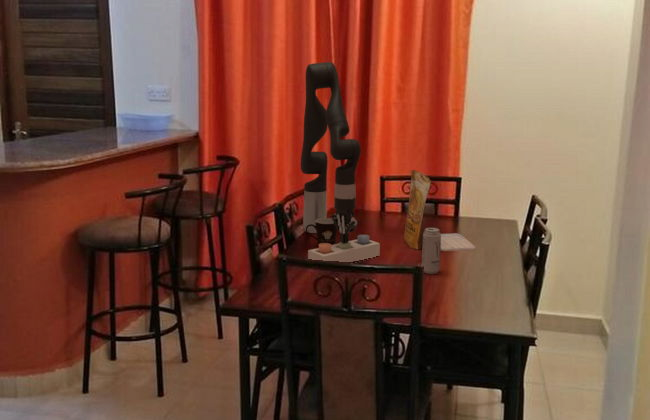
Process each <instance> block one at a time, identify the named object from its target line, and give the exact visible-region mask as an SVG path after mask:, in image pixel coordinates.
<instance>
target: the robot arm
mask: <svg viewBox="0 0 650 420" xmlns="http://www.w3.org/2000/svg"><path fill="white" fill-rule="evenodd" d="M328 88H330V92H331V93H330V99H329V102H328V104H327V107H326V108H325V106H324V105H323V103H321V100H319V98H318V96H317V90H319V89H320V90H321V89H328ZM341 91H342V90H341V85H340V80H339V75H338V70H337V67H336V65H335V64H334V62H331V61H324V62H317V63H315V62H314V63H310V64H308V65H307V66H306V68H305V106H304V107H305V108H304V114H303V115H304V117H303V140H302V141H303V142H302V148H301V155H300V170H301V172H302V174H304V175H317V177H315V178H314V179H312V180H310V181H307V182H305V183H304V187H303V188H304V191H303V192H304V194H303V196H304V198H303V199H304V202H303V203H304V205H303V208H302V214H303V215H302V220H303V222H302V223H303V224H302V229H303V230H304V232H306V227H307V226H308V225H310V224H312V225H315V226H316V222H315V221H316V220H317V219H322V218H327V211H328V209H327V206H328V205H327V202H328V201H327V195H328V194H327V193H328V191H327V190H328V189H327V187H328V186H327V185H328V184H327V183H328V182H327V181H328V177H327V176H328V165H329V164H328V161H329V159H328V154H327V153H326V151H313V149H314V147H315V146H316V145H317V143H319V142H320V140H321V139H322V138H323V137H324V136H325V134H326V133H327V131H328V130H329V138H330V139H329V140H330V142H329V143H330V147H329V149H330V150H329V151H330V155H331V157H332V158H333V159H334V160H335V161H344V160H346V162H345V163H344V164H342V165H339V166H337V167H336V168H335V170H334V171H335V172H334V173H335V175H334V195H333V196H334V203H333V204H334V206H333V207H334V209H335V213H334V214H332V215H331V216H330V217H331V219H332V220H333V222H334V224H335V227H336V229H337V231H339V233H340V242H341V243H343V244H345V243H348V241H350V240H349V236H350V235H349V234H350V233H353V232H354V230H355V229H356V228H357V226H358V225H359V222H360V221H359V220H358V219H356V218H355V213H354V211H355V209H356V206H357V205H356V203H357V202H356V197H357V195H356V194H357V192H356V191H357V188H356V170H357V167H358V162H359V160H360V157H361V154H362V153H361V152H362V151H361V150H362V149H361V148H362V147H361V143H360V142H359V141H358V139H355V138H348V139H346V138H345V139H342V138H344V137H346V136H347V135H349V133H350V125H349V123H348V120H347V119H348V118H347V116H346V113H345V110H344V106H343V98H342V92H341ZM307 231H308V232H309V234H317V231H316V229H315V228H314V227H313V226H309V227H308V228H307Z"/></svg>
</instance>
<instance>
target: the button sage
mask: <svg viewBox="0 0 650 420" xmlns="http://www.w3.org/2000/svg"><path fill="white" fill-rule="evenodd" d="M337 244H338V248H340V249H343V250H345V249H349V248H351V242H348V243H345V244H343V243H341V241H338V243H337Z"/></svg>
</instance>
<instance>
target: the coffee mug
mask: <svg viewBox="0 0 650 420" xmlns="http://www.w3.org/2000/svg"><path fill="white" fill-rule="evenodd" d="M315 222H316V226H315V225H312V224H310V225H308V226H307V227H306V231H305V233H306V234H308V236H310V237H312V238H313V239H315V240H316V241H317V246H319V244H320V243H329V244H331V245H334V244H336V239H337V233H338V232H337V231H338V230H337V229H336V227H335V224H334V222H333V220H332V217H331V218H330V217H328V218H322V219H317V220H316V221H315ZM309 226H313V227H314V228H315V229H316V231H317V233H316V236H314V235H312V233H309V232H308V231H307V228H308V227H309Z"/></svg>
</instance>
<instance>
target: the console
mask: <svg viewBox="0 0 650 420" xmlns="http://www.w3.org/2000/svg"><path fill="white" fill-rule="evenodd" d="M348 242H351V248H349V249H345V250H343V249H340V248H338V243H335V244H334V245H331V253H328V254H321V253H319V247H317V248H313V249H309V250H307V260H308V259H312V260H323V261H339V262H353V261H359V260H363V261H365V260H364V259H367V260H369V259H368V258H371V259H374V258H373V257H375V258H377V257H376V256H379V257H380V249H381V247H380V246H381V245H380V243H379V242H377V241H374V240H371V239H369V244H366V245H360V244H357V239H353V240H349V241H348ZM359 262H360V261H359Z"/></svg>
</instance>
